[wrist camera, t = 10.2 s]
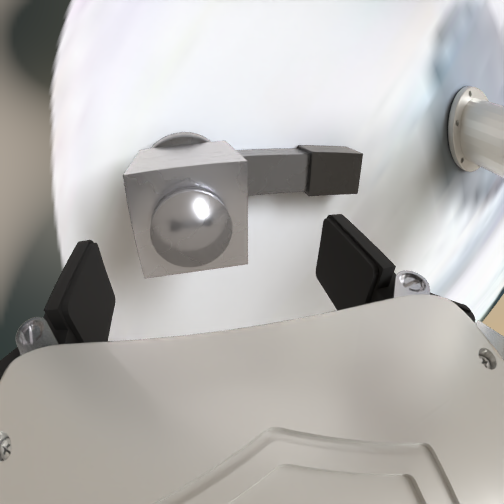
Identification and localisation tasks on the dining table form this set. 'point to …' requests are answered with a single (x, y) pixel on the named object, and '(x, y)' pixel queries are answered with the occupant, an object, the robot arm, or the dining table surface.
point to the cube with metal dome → (188, 207)
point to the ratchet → (292, 167)
